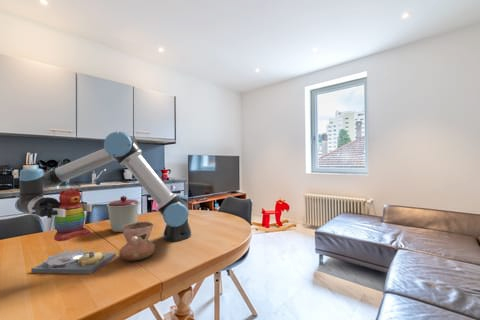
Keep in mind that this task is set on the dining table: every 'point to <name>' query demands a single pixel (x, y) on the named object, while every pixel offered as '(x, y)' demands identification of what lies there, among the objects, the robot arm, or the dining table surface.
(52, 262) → the gear
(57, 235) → the stacking bear
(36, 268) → the gear board
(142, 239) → the ceramic jug
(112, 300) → the dining table surface
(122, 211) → the canister
